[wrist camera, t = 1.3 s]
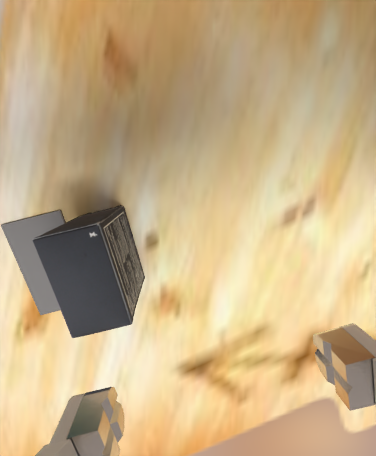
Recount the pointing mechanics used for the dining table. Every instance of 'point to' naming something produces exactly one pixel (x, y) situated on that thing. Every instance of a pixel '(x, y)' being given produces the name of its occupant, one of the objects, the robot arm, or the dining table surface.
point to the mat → (34, 256)
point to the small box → (93, 270)
